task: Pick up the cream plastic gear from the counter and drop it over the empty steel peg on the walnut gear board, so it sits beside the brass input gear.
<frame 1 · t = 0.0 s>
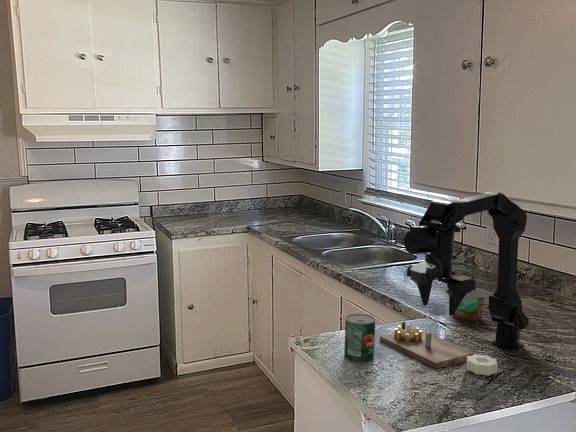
hand: (438, 310, 152), 15 cm above the worktop, tool pointing down, fingers open, 9 cm apart
gear board: (425, 349, 164), on the worktop
food container: (462, 318, 192), on the worktop
input gear: (407, 337, 169), resting on gear board
loose gear: (481, 369, 152), on the worktop
canned tomato: (358, 358, 158), on the worktop
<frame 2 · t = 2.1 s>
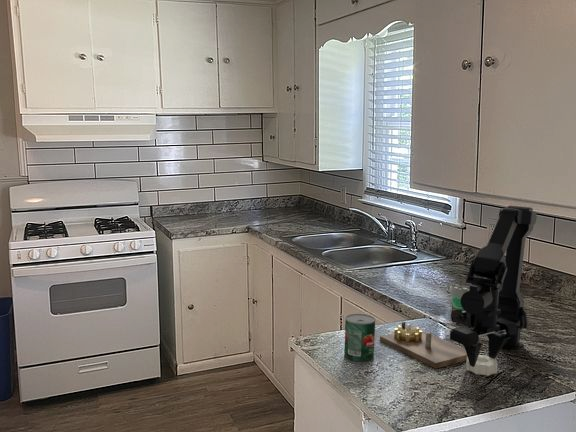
hand: (481, 363, 151), 2 cm above the worktop, tool pointing down, fingers closed on loose gear, 7 cm apart
loose gear: (481, 369, 152), on the worktop, touching gripper
everything else where it was.
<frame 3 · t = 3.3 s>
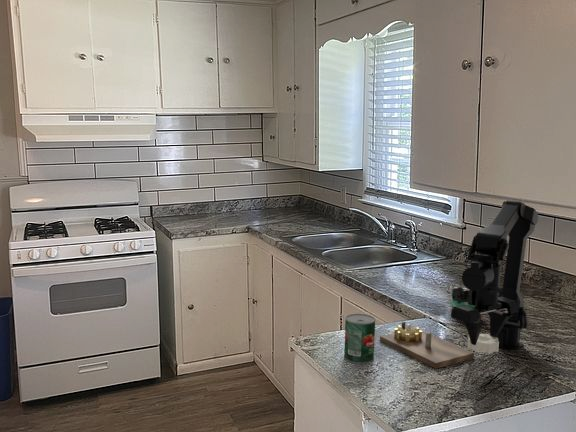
hand: (483, 342, 150), 7 cm above the worktop, tool pointing down, fingers closed on loose gear, 7 cm apart
loose gear: (482, 347, 151), point 6 cm above the worktop, touching gripper
everything else where it was.
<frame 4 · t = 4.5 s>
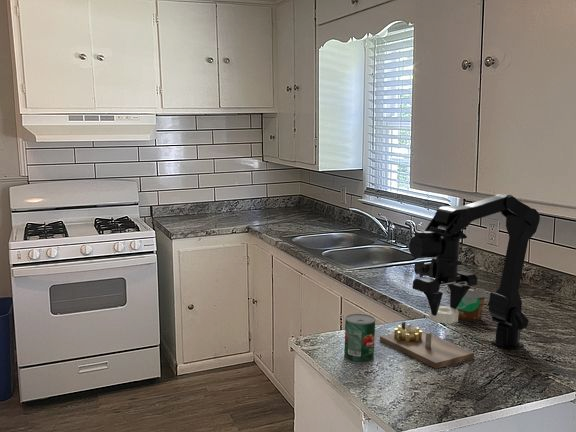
hand: (443, 313, 157), 12 cm above the worktop, tool pointing down, fingers closed on loose gear, 7 cm apart
loose gear: (443, 318, 157), point 11 cm above the worktop, touching gripper
everything else where it was.
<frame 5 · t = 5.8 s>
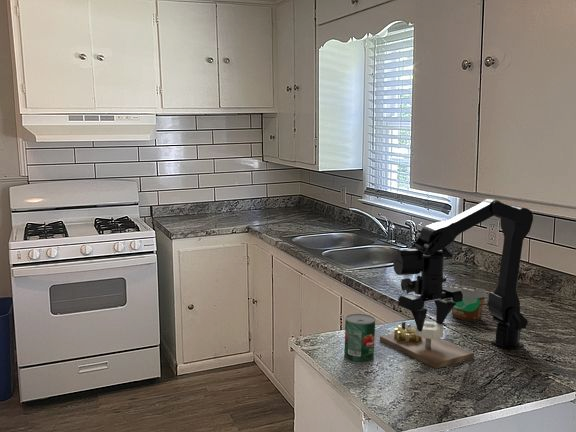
hand: (429, 328, 161), 7 cm above the worktop, tool pointing down, fingers closed on loose gear, 7 cm apart
loose gear: (429, 334, 161), point 5 cm above the worktop, touching gripper
everything else where it was.
when the fingers open (4 cm above the worktop, at t = 6.8 s): loose gear stays where it is, resting on gear board.
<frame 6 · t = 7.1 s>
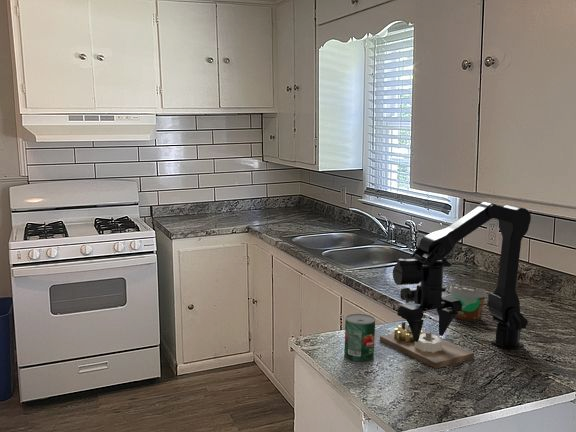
hand: (428, 338, 162), 4 cm above the worktop, tool pointing down, fingers open, 9 cm apart
loose gear: (428, 347, 162), point 1 cm above the worktop, touching gear board
everything else where it was.
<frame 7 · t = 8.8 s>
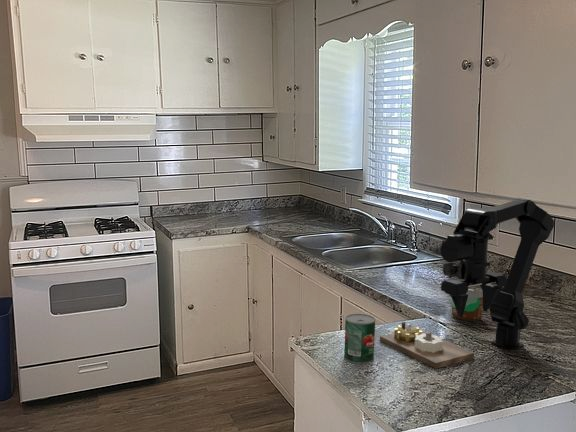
hand: (472, 314, 159), 12 cm above the worktop, tool pointing down, fingers open, 9 cm apart
nothing on the worktop moved.
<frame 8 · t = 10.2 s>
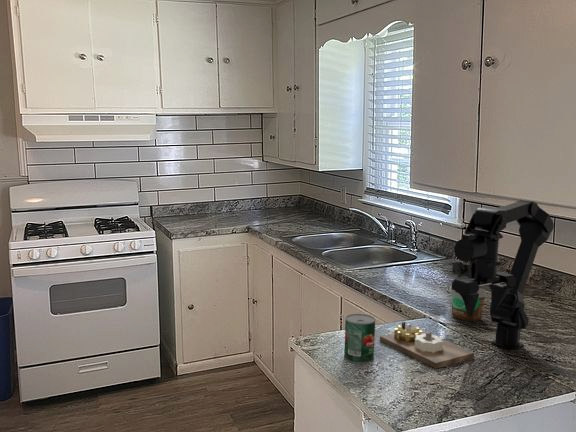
hand: (481, 313, 158), 12 cm above the worktop, tool pointing down, fingers open, 9 cm apart
nothing on the worktop moved.
at the end: loose gear 0.1 cm from the target spot on the gear board, point 1.5 cm above the gear board's base; loose gear tilted 0°; the gripper is holding nothing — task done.
